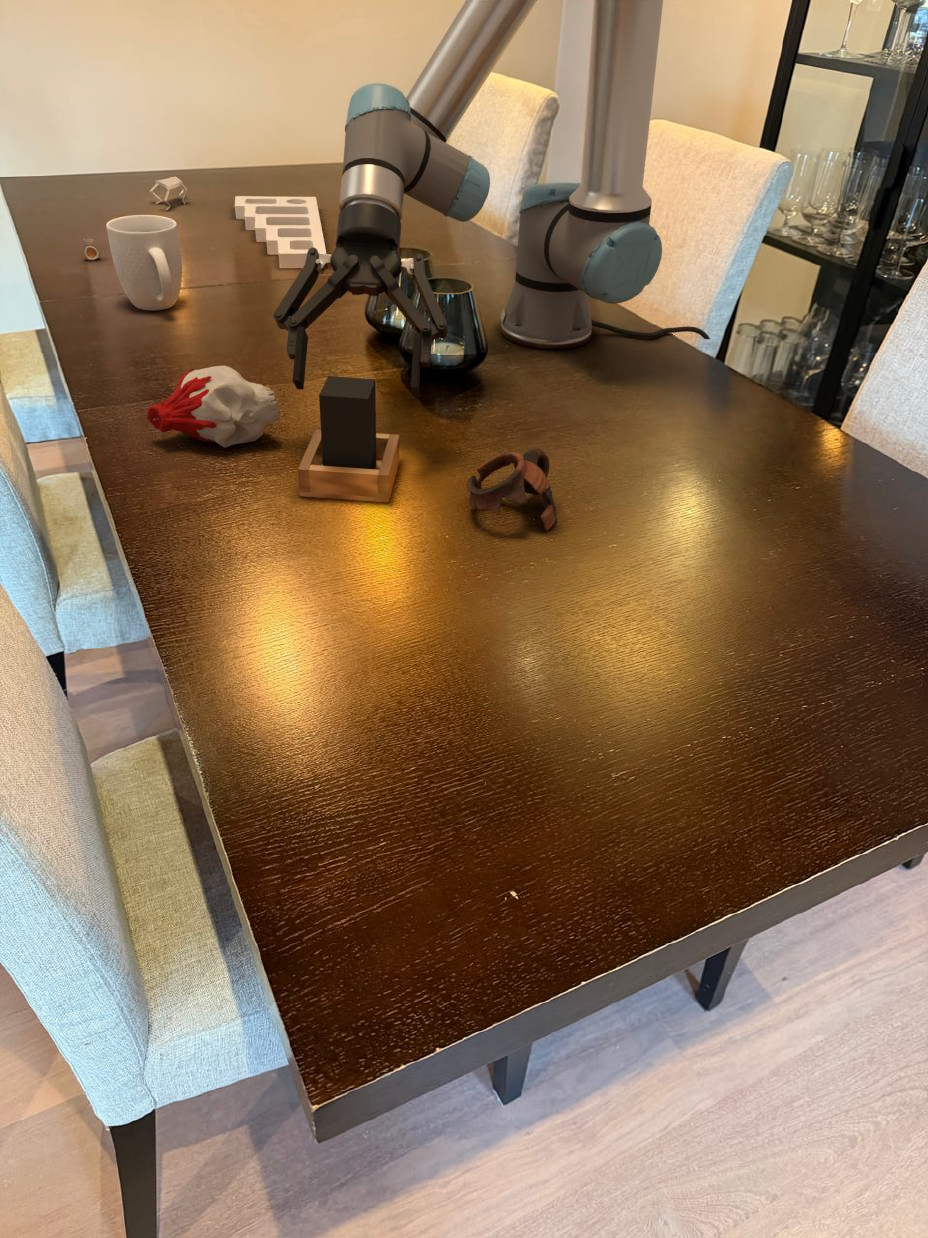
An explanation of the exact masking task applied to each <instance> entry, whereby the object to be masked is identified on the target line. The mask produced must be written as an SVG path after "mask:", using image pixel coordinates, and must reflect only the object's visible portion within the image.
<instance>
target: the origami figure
mask: <svg viewBox="0 0 928 1238" xmlns="http://www.w3.org/2000/svg"><path fill="white" fill-rule="evenodd" d="M160 187H163V188H164V189H166V193H165V196H164V199H163V200H162V198H160V197H159V195H157V194H156V193H155V192H156V190H157V189H158V188H160ZM178 187H179V188H180V190H181V191H180V192H179V194H178V195H177V198H179V200H181V201H182V203H183V204H184V205H186V202H185V197H186V196H187V193H188V188H187V187H186V186H185V185H184V183H183V180H181V179H180V178H178V177H177V176H172V177H167V178H163V179H155V184H154V185H153V186H152V187H151V189H149V192H150V194H152V195H153V196H154V197H156V198H157V199H158V201H156V202H155V205H158V204H161V203H162V202H163V201H164V202H165V203H166V205H168V207H166V208H165V211H169V209H170V208H171V204H170V203H169V201H168V198H169V194H170V191H171V190H174V189H176V188H178ZM183 193H184V194H183ZM182 194H183V196H182V197H181V195H182Z"/></svg>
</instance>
